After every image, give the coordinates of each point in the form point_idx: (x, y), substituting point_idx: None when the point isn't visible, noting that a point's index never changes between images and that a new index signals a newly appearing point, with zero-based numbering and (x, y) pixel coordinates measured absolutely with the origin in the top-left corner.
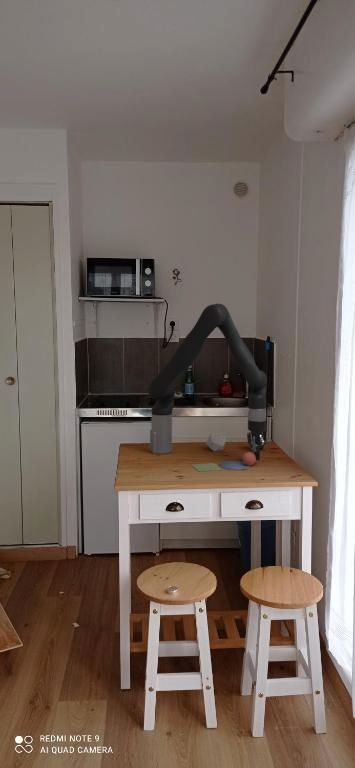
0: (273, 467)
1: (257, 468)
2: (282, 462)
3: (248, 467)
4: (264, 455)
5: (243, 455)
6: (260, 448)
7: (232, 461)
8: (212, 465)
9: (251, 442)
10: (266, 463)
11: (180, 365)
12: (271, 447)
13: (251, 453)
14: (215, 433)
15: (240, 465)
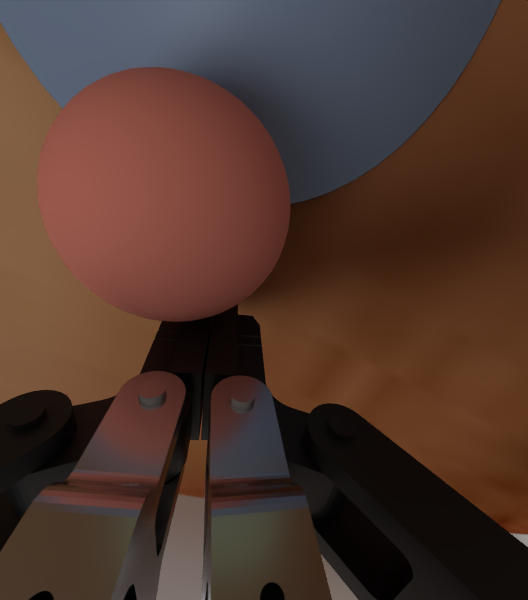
0: (70, 371)
1: (37, 215)
2: (204, 467)
3: (62, 104)
4: (417, 449)
5: (219, 108)
6: (9, 500)
7: (451, 46)
8: None
9: (314, 568)
10: None
11: None
12: (516, 525)
13: (95, 266)
14: None
15: (196, 34)
